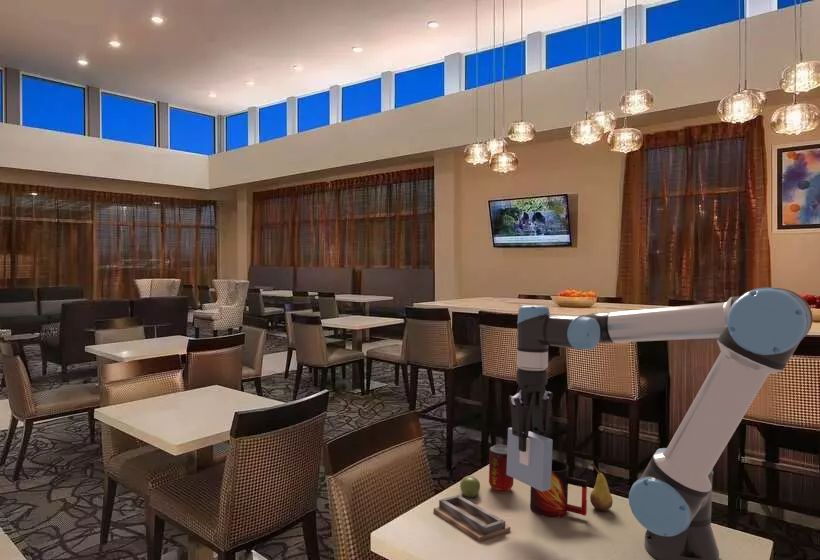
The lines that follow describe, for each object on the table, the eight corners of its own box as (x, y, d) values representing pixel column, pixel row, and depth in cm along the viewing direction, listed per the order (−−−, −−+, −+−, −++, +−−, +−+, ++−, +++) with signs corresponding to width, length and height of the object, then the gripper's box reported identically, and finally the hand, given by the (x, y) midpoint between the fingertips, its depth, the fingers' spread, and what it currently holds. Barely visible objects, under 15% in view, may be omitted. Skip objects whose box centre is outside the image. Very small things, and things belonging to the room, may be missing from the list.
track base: (510, 530, 130) (510, 519, 130) (479, 541, 124) (479, 529, 124) (463, 503, 145) (463, 493, 145) (433, 512, 139) (433, 501, 139)
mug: (587, 520, 137) (588, 473, 137) (532, 516, 138) (533, 470, 138) (579, 504, 146) (580, 460, 146) (528, 500, 148) (529, 457, 148)
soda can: (516, 487, 157) (517, 446, 157) (508, 496, 151) (509, 452, 151) (493, 482, 160) (494, 441, 160) (485, 490, 154) (486, 448, 154)
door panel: (550, 489, 128) (552, 439, 128) (542, 491, 126) (544, 441, 126) (514, 472, 138) (516, 426, 138) (506, 474, 136) (508, 428, 136)
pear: (460, 478, 148) (461, 471, 158) (459, 498, 148) (460, 490, 157) (480, 479, 148) (480, 472, 158) (479, 499, 147) (479, 491, 157)
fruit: (605, 516, 140) (606, 470, 139) (585, 508, 144) (587, 463, 144) (616, 510, 143) (618, 466, 143) (597, 503, 148) (598, 459, 147)
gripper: (542, 363, 139) (540, 452, 139) (497, 368, 130) (495, 463, 130) (565, 367, 133) (563, 461, 133) (519, 373, 124) (517, 473, 124)
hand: (529, 462), depth 132 cm, fingers closed on door panel, 3 cm apart
